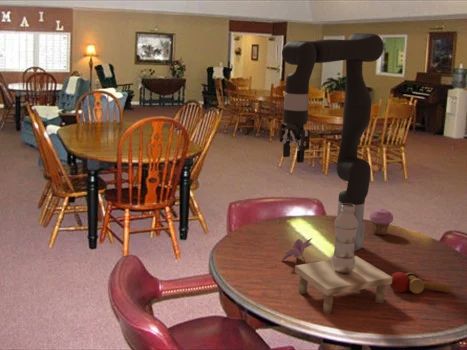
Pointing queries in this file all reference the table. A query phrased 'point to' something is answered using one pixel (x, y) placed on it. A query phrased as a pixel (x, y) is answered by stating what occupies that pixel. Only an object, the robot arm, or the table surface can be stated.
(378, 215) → the cupcake
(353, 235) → the plastic bottle
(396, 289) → the kendama
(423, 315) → the table surface
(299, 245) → the lily
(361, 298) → the table surface
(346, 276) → the footstool
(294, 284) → the table surface
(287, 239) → the table surface
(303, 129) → the robot arm
